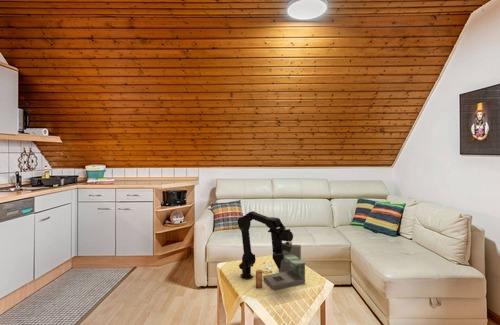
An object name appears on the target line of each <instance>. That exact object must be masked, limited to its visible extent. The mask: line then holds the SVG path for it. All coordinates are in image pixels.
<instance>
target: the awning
mask: <svg viewBox="0 0 500 325" xmlns="http://www.w3.org/2000/svg"><path fill="white" fill-rule="evenodd" d="M283 260H284V261H285V262H287V263H288V264H289V265H290V266H292V271H293V272H295V273H296V274H297V275H298V276H300V277H301V278H302V279H305V280H306V262H305V261H304V260H302V259H299V258H298V257H296V256H295V255H293V254H291V255H286V256H284V258H283Z"/></svg>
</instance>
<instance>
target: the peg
mask: <svg viewBox="0 0 500 325" xmlns="http://www.w3.org/2000/svg"><path fill="white" fill-rule="evenodd" d="M255 288H256V289H257V290H261V289H263V270H261V269H256V270H255Z"/></svg>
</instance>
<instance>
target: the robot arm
mask: <svg viewBox="0 0 500 325" xmlns="http://www.w3.org/2000/svg"><path fill="white" fill-rule="evenodd" d="M253 220H254V221H256V222H258V223H261V224H264V225H265V226H266V227H267V228H269V230H267V232H268V233H270V236H271V246H272V260H273V262H274V264H275V266H276V267H277V269H278V270H279V269H280V267H281V260H282V259H283V258H284V256H283V253H282V252H283V250H285V251H288V252H291V248H292V246H291V245H289V242H292V241H293V240H294V234H293V232H292V231H291V228H288V229H287V228H286V227H285V225H284V224H283V222H282V221H281V219H280V218H279V217H273V216H270V217H269V216H266V215H263V214H261V213H259V212H256V211H253V210H252V211H249V212H247V213H246V214H245V215H242V216H241V217H238V219H237V221H236V222H237V225H238V226H237V228H239V230H240V231H241V238H242V239H241V240H242V249H243V254H242V256H241V257H242V258H241V262H240V263H239V265H238V267H239V269H240V270H241V274H240V277H241V278H242V279H243V280H247V279H253V278H254V277H253V275H252V274H251V272H252V267H254V265H255V263H256V260H257V259H256V254H255V253H254V254H253V252H252V247H251V238H250V228H251V222H252V221H253Z"/></svg>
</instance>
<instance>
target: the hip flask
mask: <svg viewBox="0 0 500 325" xmlns="http://www.w3.org/2000/svg"><path fill="white" fill-rule="evenodd" d="M288 242H289V241H288ZM289 245H291V246H292V248H291V252H288V251H285V250H283V252H282V253H283V256H286V255H291V254H293V255H295V256H296V257H298V258H299V259H301V258H302V246H301V244H293V242H292V241H291V242H289ZM301 260H302V259H301ZM290 270H292V266H290V265H289V264H288V263H287V262H285V261H284V260H283V259H282V260H281V267H280V269H278V273H280V272H285V271H290Z"/></svg>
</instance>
